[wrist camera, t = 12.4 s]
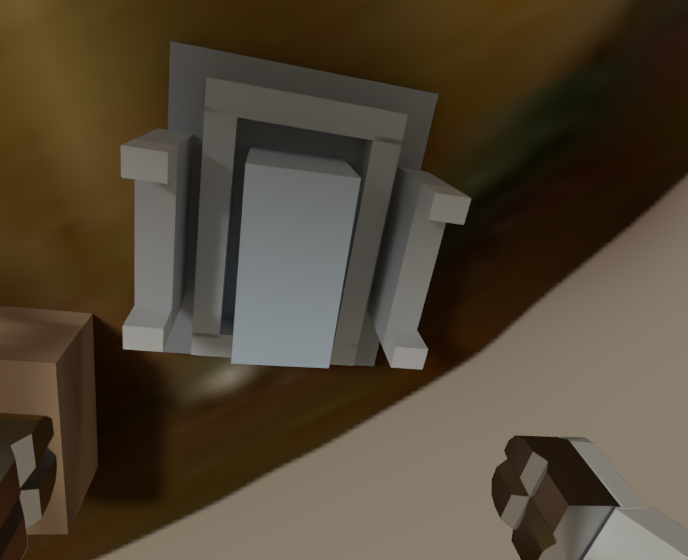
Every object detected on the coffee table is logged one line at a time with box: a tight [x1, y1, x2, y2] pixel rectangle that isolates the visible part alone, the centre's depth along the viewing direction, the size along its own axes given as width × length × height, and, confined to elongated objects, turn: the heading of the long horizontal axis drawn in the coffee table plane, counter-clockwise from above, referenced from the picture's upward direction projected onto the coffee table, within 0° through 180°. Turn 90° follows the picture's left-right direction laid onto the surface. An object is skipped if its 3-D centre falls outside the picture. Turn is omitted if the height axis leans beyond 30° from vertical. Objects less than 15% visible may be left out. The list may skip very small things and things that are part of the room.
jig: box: [121, 41, 471, 370], centre depth 19 cm, size 14×12×6 cm
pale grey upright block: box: [231, 145, 361, 368], centre depth 19 cm, size 8×4×4 cm, turn 171°
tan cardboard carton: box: [0, 306, 98, 534], centre depth 22 cm, size 4×10×4 cm, turn 170°
